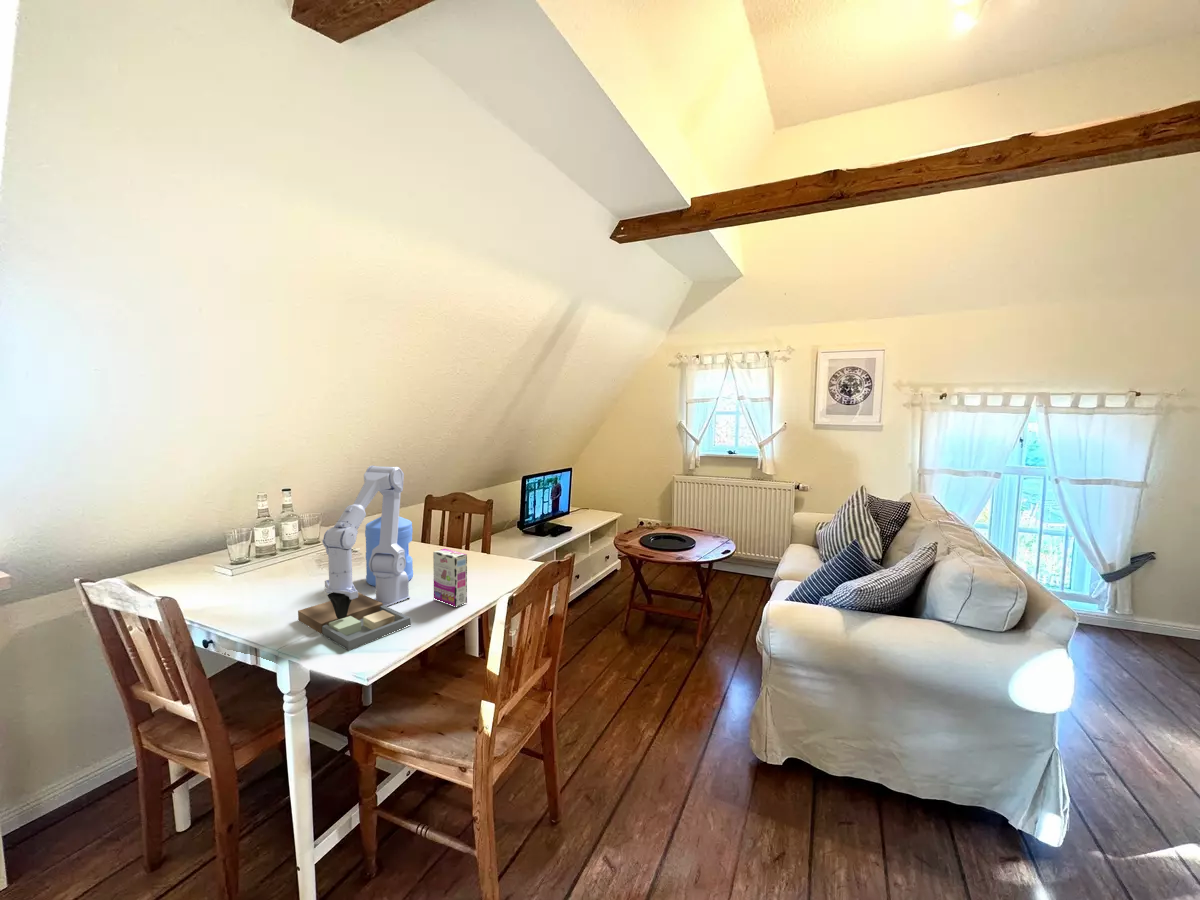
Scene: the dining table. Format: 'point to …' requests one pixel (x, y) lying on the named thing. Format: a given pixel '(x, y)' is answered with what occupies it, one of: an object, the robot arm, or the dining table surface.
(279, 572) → the dining table surface
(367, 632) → the tray
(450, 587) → the candy bar box
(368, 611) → the walnut board
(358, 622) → the sage tile
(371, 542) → the water jug
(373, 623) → the ash block
